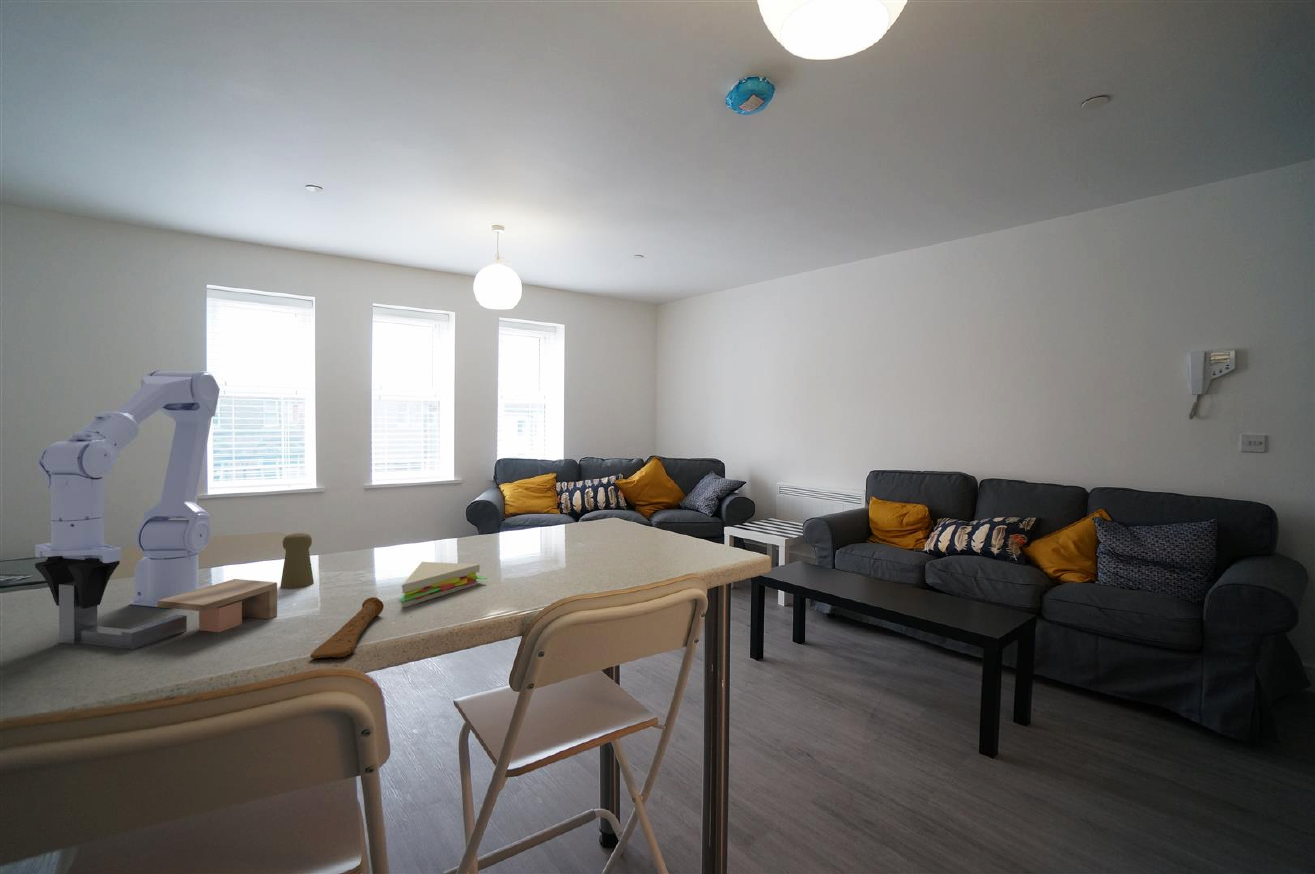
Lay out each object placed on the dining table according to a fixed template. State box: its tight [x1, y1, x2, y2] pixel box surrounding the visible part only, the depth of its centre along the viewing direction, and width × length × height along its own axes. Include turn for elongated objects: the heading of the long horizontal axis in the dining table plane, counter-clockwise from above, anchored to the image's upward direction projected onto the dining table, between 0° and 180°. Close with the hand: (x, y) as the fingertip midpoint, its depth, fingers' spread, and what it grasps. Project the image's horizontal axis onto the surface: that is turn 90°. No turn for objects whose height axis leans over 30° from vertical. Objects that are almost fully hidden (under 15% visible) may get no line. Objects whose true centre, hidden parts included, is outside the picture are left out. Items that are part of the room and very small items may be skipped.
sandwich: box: [400, 561, 488, 608], centre depth 114 cm, size 15×20×5 cm
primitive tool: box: [309, 596, 385, 659], centre depth 91 cm, size 19×6×4 cm, turn 6°
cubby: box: [156, 578, 278, 620], centre depth 94 cm, size 9×13×6 cm
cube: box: [198, 601, 243, 633], centre depth 94 cm, size 4×4×4 cm
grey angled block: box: [58, 581, 188, 650], centre depth 89 cm, size 14×8×9 cm, turn 78°
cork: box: [280, 532, 315, 590], centre depth 118 cm, size 6×6×11 cm
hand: (78, 605), depth 87 cm, fingers open, 4 cm apart
